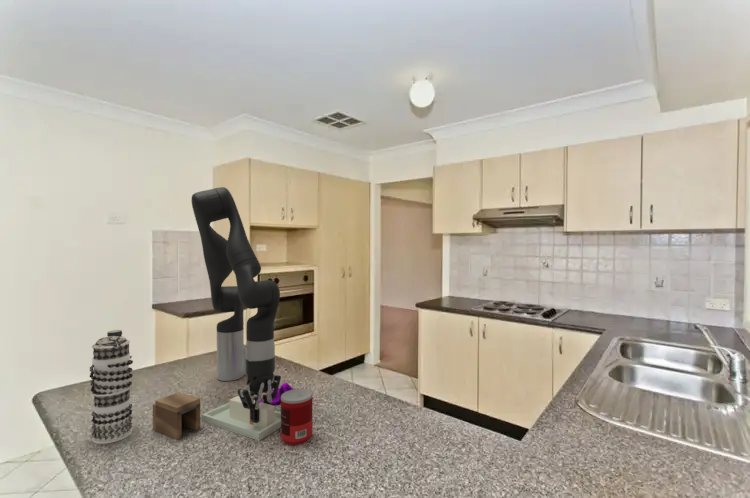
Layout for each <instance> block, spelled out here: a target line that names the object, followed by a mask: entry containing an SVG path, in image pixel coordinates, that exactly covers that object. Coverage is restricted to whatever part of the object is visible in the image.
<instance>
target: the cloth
mask: <svg viewBox="0 0 750 498" xmlns="http://www.w3.org/2000/svg"><path fill="white" fill-rule="evenodd" d="M293 389H294V388H293V387H292V386H291V385H290V384H289V383H288V382H284V383H282V384H281V385H280V386H279V388H278V392H277V396H276V398H273V399H272V401H271V405H273V406H275V407H276V406H281V395H282V394H283V393H285V392H287V391H289V390H293ZM273 391H274V389H273V390H272V393H273ZM313 399H314V396H313V397H312V400H313ZM260 402H264V401H262V397H261V400H260Z"/></svg>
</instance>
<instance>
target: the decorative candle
mask: <svg viewBox="0 0 750 498" xmlns="http://www.w3.org/2000/svg"><path fill="white" fill-rule="evenodd" d="M130 343H131V340H127V338H126V337H124V336H123V335H122V336H109V337H108V336H103V337H101V338H99V339H98V340H97V341H96V342H95V344H93V345H91V348H92V349H93V352H92V355H93V357H92V358H91V359H92V360H91V361H92V362H91V363H92V365H91V366H89V372H90V373H89V378H91V380H90V386H91V388H90V392H91V395H92V396H93V402H94V403H93V405H92V412H91V416H92V418H91V422H92V426H91V431H92V432H91V436H92V440H91V441H92V442H93V443H94V444H97V445H106V444H111V443H116V442H119V441H121V440H123V439H125V438H128V437H129V436H130V435H131V434H132V432H133V428H132V427H133V422H132V421H133V416H131V415H132V414H133V410H132V408H133V404H132V403H131V401H132V399H131V395H130V393H131V392H130V391H131V390H130V389H132V385H133V381H130V379H132V377H133V376H134V375H133V374H132V373H131V372H132V371H133V368H132V367H130V366H131V365H132V364H133V363H134V361H133V360H132V357H133V356H132V355H131V353H130Z"/></svg>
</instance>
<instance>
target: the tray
mask: <svg viewBox="0 0 750 498" xmlns="http://www.w3.org/2000/svg"><path fill="white" fill-rule="evenodd" d="M201 422H202V423H206V424H209V425H212V426H214V427H217V428H221V429H224V430H226V431H230V432H233V433H235V434H237V435H241V436H243V437H247V438H249V439H253V440H255V441H259V442H260V441H261V440H262V439H264V438H266V437H268V436H269V435H271V434H273V433H274V432H275V431H278V430H279V429H281V411H277V410H275V422H274V423H273V424H271V425H269V426H267V427H266V428H261V427H258V426H255V425H251V424H249V423H245V422H242V421H239V420H236V419H233V418H230V401H229V402H226V403H224V404H223V405H219V406H218V407H216V408H214V409H211V410H210V411H206V412H205V413H202V414H201Z"/></svg>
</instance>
